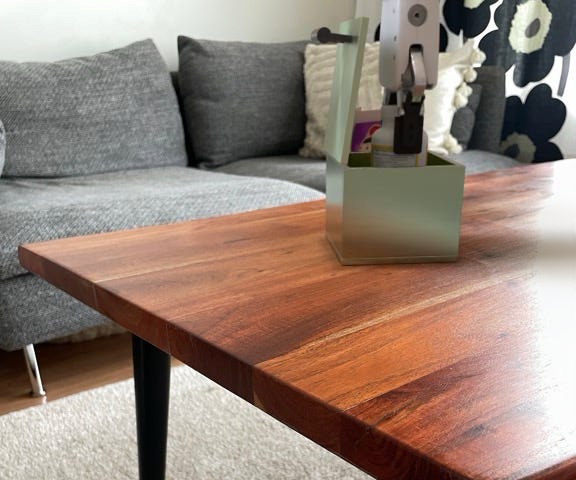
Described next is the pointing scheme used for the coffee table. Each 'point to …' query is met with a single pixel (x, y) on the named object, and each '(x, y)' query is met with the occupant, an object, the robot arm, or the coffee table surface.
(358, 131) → the purple cartoon box
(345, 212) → the bin
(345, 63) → the bin lid
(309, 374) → the coffee table surface
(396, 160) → the supplement bottle
